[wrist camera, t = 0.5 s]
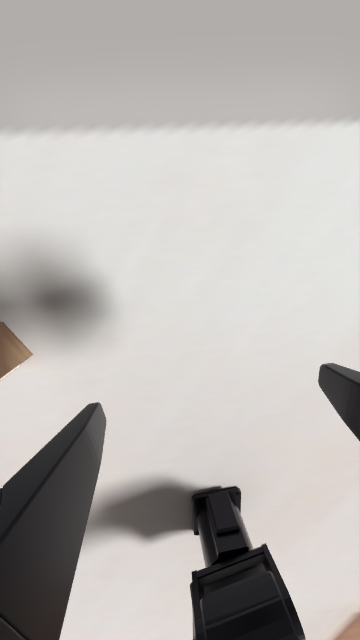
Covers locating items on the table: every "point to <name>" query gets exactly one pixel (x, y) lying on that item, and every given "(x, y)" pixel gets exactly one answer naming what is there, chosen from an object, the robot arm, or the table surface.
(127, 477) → the table surface
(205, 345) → the table surface
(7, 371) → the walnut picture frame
